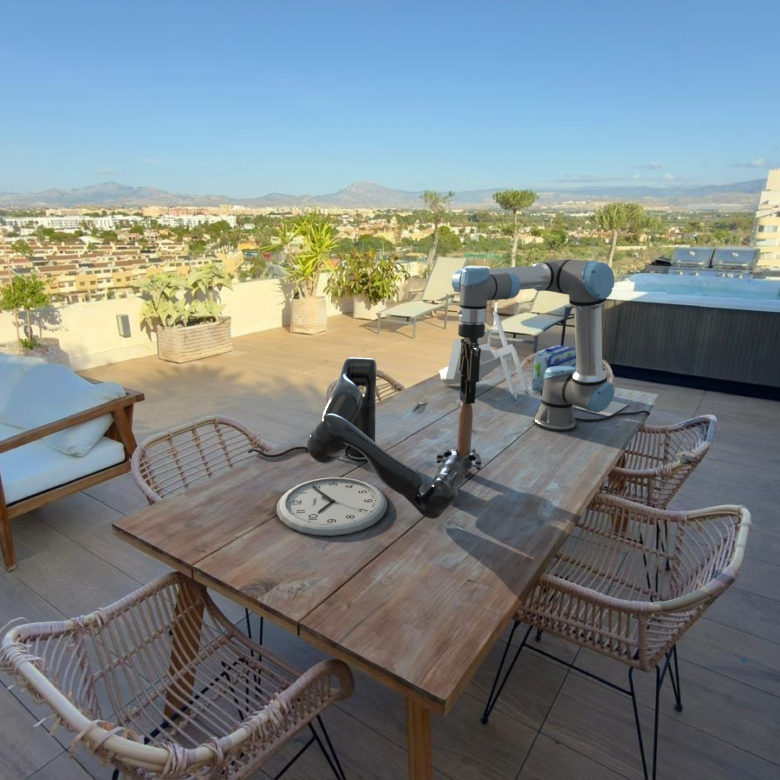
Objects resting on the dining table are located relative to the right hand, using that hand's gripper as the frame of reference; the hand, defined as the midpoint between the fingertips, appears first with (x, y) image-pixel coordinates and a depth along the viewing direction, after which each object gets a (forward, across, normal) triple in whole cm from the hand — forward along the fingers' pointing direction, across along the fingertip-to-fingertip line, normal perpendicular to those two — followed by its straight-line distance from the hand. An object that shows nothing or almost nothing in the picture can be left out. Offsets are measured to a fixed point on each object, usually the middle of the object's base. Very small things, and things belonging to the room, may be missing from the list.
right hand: (467, 399), depth 156 cm
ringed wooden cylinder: (+24, 0, 0) cm, 24 cm away
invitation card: (+24, -58, +76) cm, 98 cm away
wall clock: (+24, +17, -40) cm, 50 cm away
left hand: (+17, -2, +1) cm, 18 cm away
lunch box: (+24, -82, +64) cm, 107 cm away
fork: (+24, -63, -4) cm, 68 cm away
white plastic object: (+24, -81, +28) cm, 89 cm away
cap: (-2, 0, 0) cm, 2 cm away
